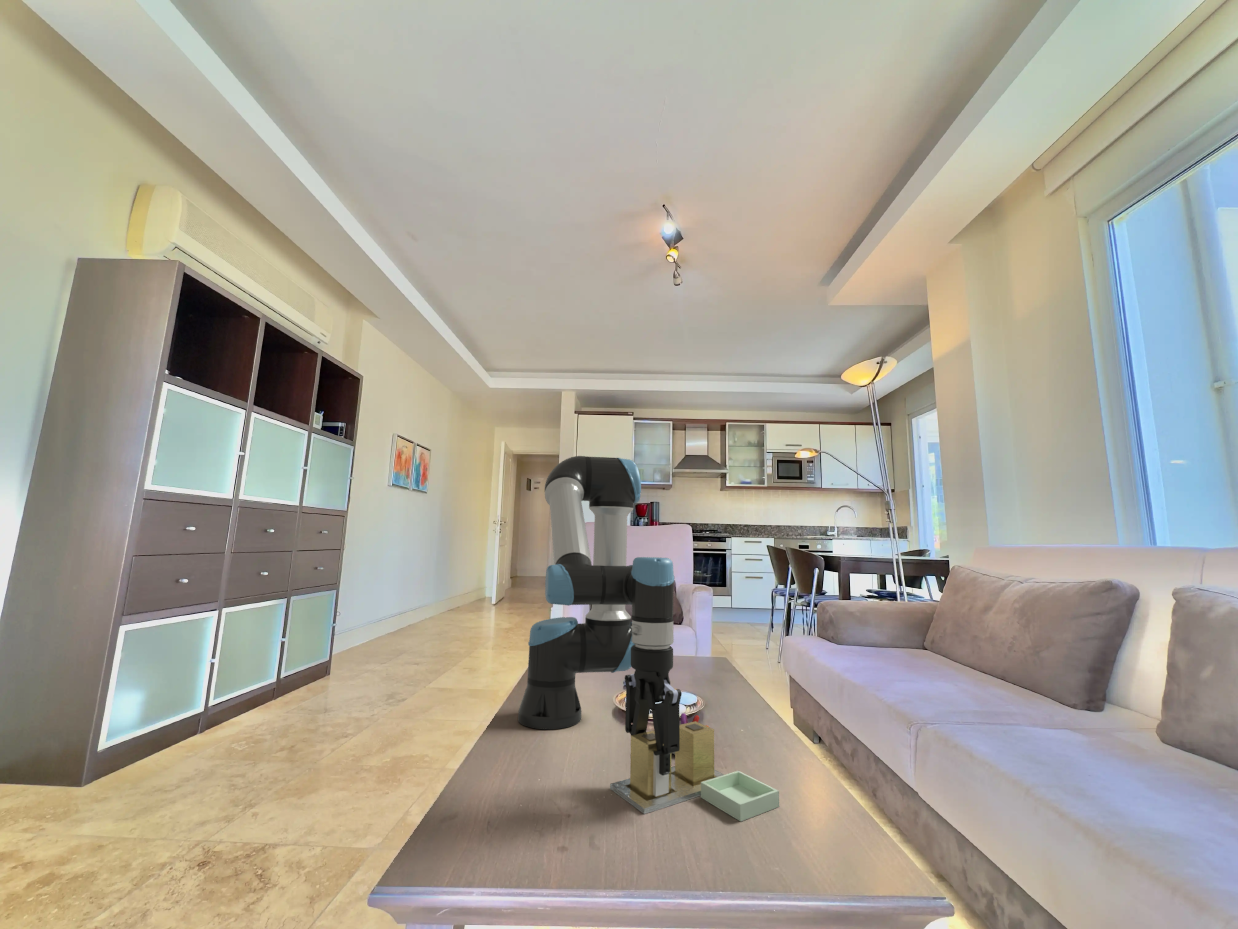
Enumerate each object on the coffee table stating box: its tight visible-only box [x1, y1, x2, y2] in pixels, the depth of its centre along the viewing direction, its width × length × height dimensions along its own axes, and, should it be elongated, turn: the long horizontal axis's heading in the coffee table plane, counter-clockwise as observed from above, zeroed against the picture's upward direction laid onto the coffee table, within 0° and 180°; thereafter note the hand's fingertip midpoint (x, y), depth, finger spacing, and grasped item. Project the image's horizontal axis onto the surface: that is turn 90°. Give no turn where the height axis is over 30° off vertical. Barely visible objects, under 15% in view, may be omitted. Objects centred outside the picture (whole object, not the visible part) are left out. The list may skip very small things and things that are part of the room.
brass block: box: [629, 730, 672, 801], centre depth 89 cm, size 5×5×9 cm
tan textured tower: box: [674, 721, 715, 786], centre depth 94 cm, size 5×5×9 cm
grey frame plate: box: [609, 765, 725, 815], centre depth 91 cm, size 10×20×1 cm, turn 123°
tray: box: [700, 770, 780, 822], centre depth 86 cm, size 9×9×2 cm
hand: (650, 786), depth 88 cm, fingers closed on brass block, 5 cm apart
